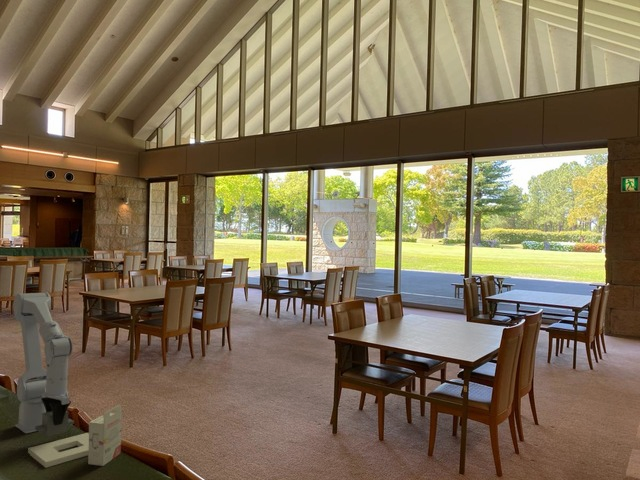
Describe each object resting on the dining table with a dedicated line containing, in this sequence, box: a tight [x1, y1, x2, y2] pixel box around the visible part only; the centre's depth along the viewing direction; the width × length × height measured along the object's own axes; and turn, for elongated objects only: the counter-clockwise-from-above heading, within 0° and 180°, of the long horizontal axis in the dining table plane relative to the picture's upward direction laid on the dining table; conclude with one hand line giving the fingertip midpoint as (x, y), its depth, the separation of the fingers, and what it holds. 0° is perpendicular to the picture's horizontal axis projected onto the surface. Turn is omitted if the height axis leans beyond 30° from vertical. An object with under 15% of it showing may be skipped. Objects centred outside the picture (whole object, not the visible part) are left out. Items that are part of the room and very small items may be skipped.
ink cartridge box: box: [87, 403, 123, 467], centre depth 141 cm, size 9×5×15 cm, turn 168°
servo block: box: [35, 410, 75, 437], centre depth 151 cm, size 4×10×7 cm, turn 139°
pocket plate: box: [27, 432, 89, 469], centre depth 145 cm, size 13×17×2 cm
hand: (55, 422), depth 151 cm, fingers closed on servo block, 4 cm apart
